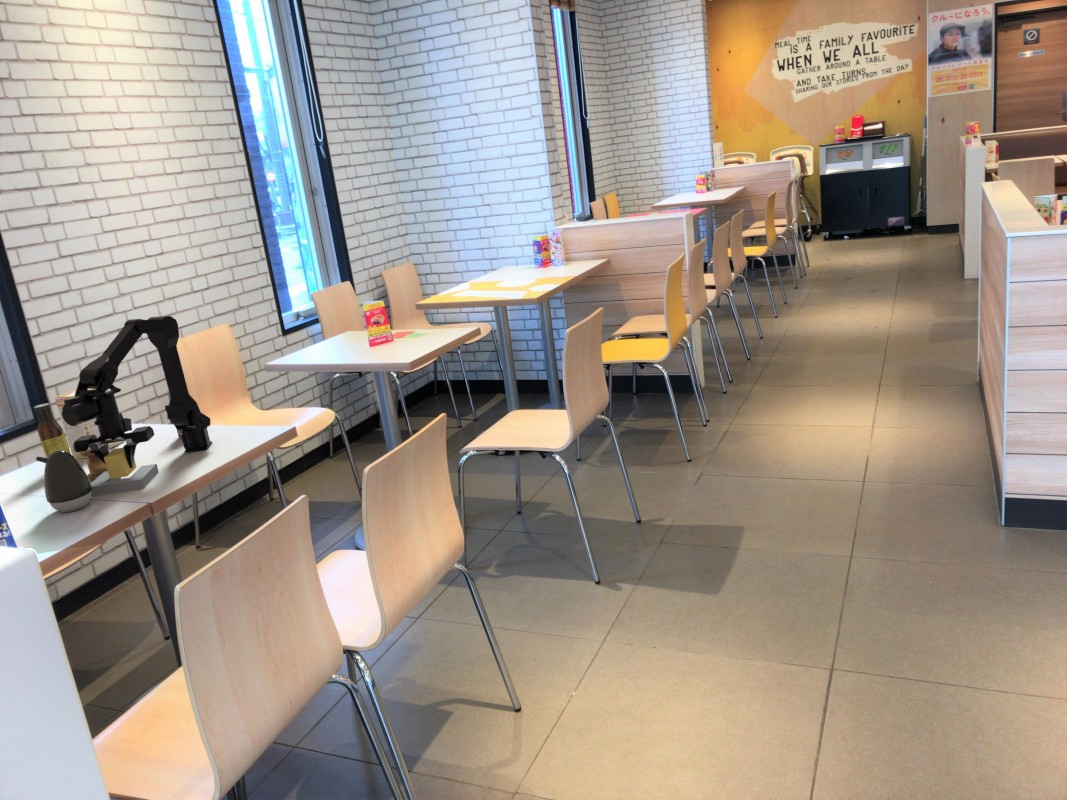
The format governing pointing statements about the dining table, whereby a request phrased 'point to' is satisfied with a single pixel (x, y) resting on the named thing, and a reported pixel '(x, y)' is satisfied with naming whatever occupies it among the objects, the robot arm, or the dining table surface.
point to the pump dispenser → (65, 482)
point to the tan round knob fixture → (94, 465)
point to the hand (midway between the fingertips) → (122, 469)
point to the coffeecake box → (78, 426)
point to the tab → (118, 463)
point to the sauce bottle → (50, 431)
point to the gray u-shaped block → (124, 481)
